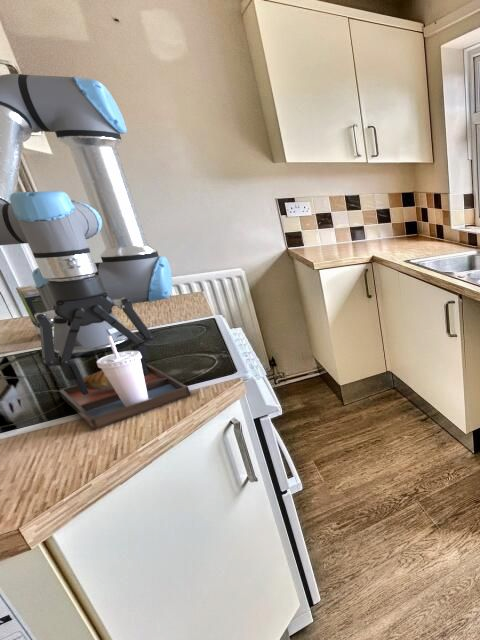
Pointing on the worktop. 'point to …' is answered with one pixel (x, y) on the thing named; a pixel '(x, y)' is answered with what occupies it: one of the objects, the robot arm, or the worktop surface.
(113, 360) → the smoothie
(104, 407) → the sorting tray
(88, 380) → the pastry
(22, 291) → the tea box
